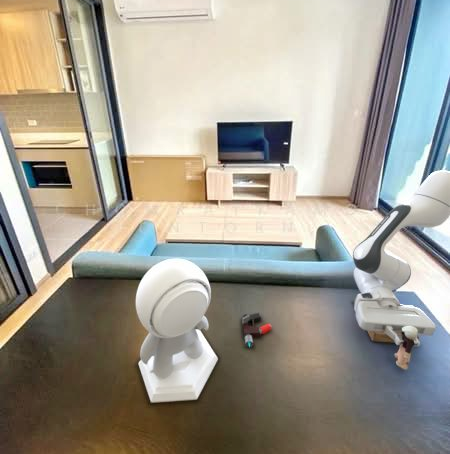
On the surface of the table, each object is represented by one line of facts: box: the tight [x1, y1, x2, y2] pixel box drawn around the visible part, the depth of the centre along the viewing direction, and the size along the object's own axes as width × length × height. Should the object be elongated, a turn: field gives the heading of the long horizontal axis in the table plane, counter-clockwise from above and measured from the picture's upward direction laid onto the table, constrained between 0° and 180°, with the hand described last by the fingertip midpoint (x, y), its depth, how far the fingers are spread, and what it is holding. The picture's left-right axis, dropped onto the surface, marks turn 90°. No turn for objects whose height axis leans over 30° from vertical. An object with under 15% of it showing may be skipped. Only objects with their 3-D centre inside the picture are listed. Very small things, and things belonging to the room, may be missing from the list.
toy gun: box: [241, 312, 272, 348], centre depth 81 cm, size 10×12×5 cm
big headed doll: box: [135, 258, 219, 404], centre depth 66 cm, size 20×23×35 cm
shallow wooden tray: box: [353, 296, 420, 344], centre depth 85 cm, size 13×15×4 cm
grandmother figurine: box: [394, 326, 418, 371], centre depth 68 cm, size 8×4×13 cm, turn 165°
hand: (408, 344), depth 67 cm, fingers closed on grandmother figurine, 3 cm apart
